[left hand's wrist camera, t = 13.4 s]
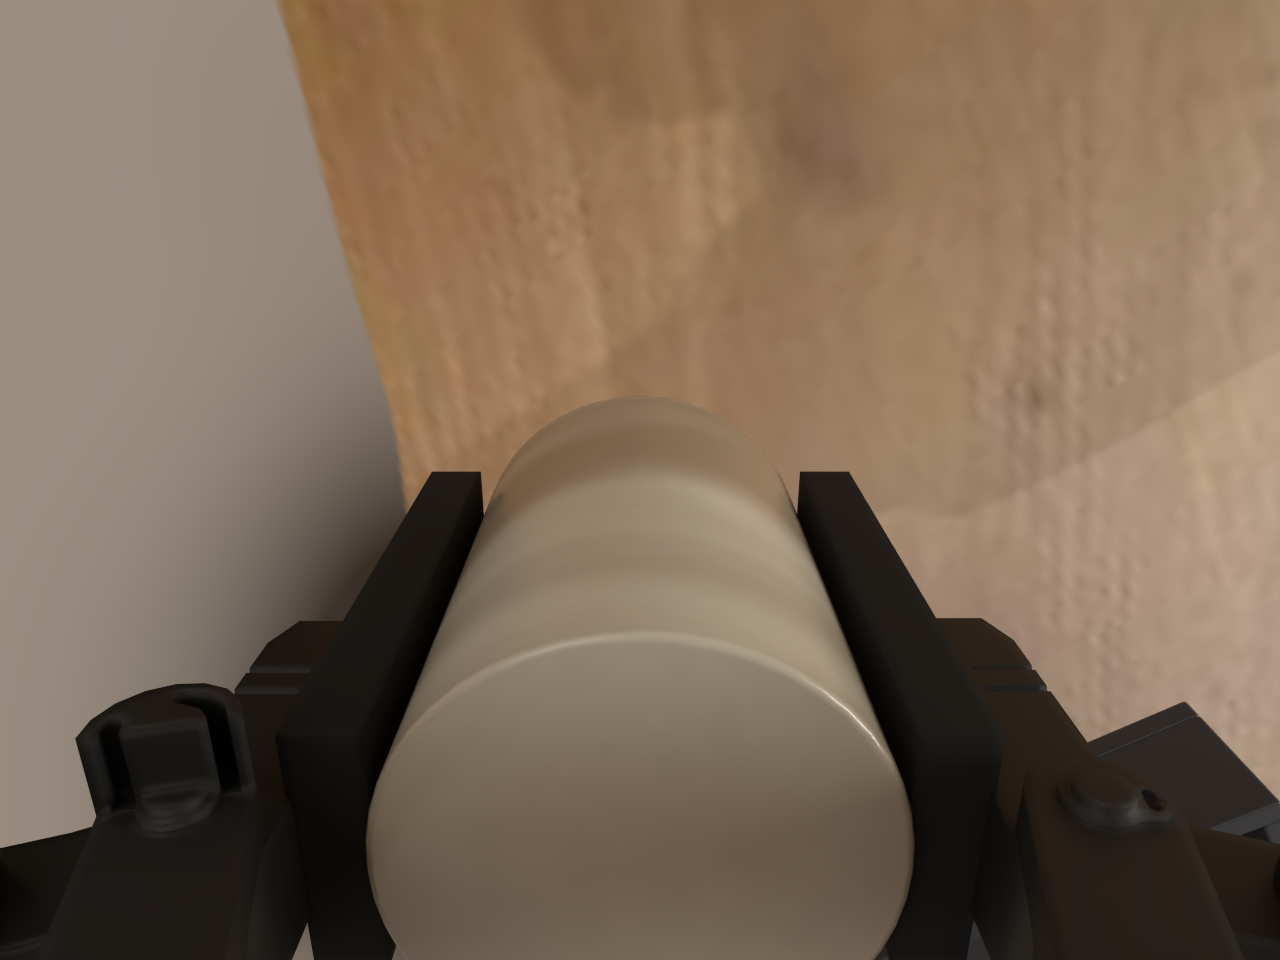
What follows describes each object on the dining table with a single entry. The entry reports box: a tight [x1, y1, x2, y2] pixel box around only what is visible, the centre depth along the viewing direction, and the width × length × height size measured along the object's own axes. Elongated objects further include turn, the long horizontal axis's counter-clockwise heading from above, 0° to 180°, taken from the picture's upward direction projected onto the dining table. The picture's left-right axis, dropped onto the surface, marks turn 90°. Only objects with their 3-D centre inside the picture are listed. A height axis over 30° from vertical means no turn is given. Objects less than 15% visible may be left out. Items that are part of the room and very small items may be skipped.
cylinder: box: [366, 396, 915, 960], centre depth 12 cm, size 5×5×7 cm
